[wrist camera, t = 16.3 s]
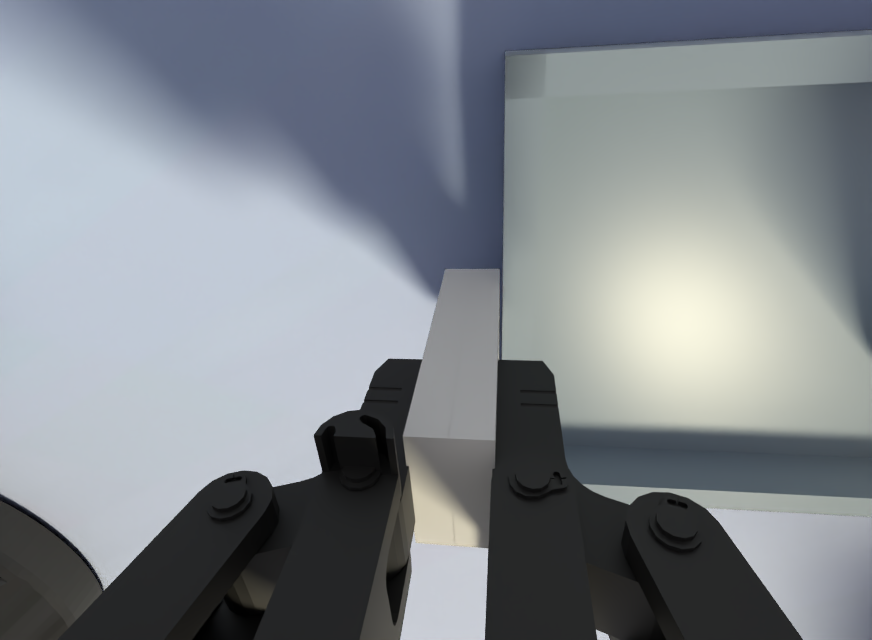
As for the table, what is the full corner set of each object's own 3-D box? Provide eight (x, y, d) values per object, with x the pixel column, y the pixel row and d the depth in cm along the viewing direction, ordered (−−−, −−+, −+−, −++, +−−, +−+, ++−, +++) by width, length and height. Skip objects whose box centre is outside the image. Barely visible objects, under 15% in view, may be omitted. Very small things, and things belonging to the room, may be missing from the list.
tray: (500, 442, 19) (500, 497, 17) (505, 51, 12) (505, 55, 10) (1050, 465, 16) (1132, 531, 14) (1418, -4, 10) (1671, -12, 8)
